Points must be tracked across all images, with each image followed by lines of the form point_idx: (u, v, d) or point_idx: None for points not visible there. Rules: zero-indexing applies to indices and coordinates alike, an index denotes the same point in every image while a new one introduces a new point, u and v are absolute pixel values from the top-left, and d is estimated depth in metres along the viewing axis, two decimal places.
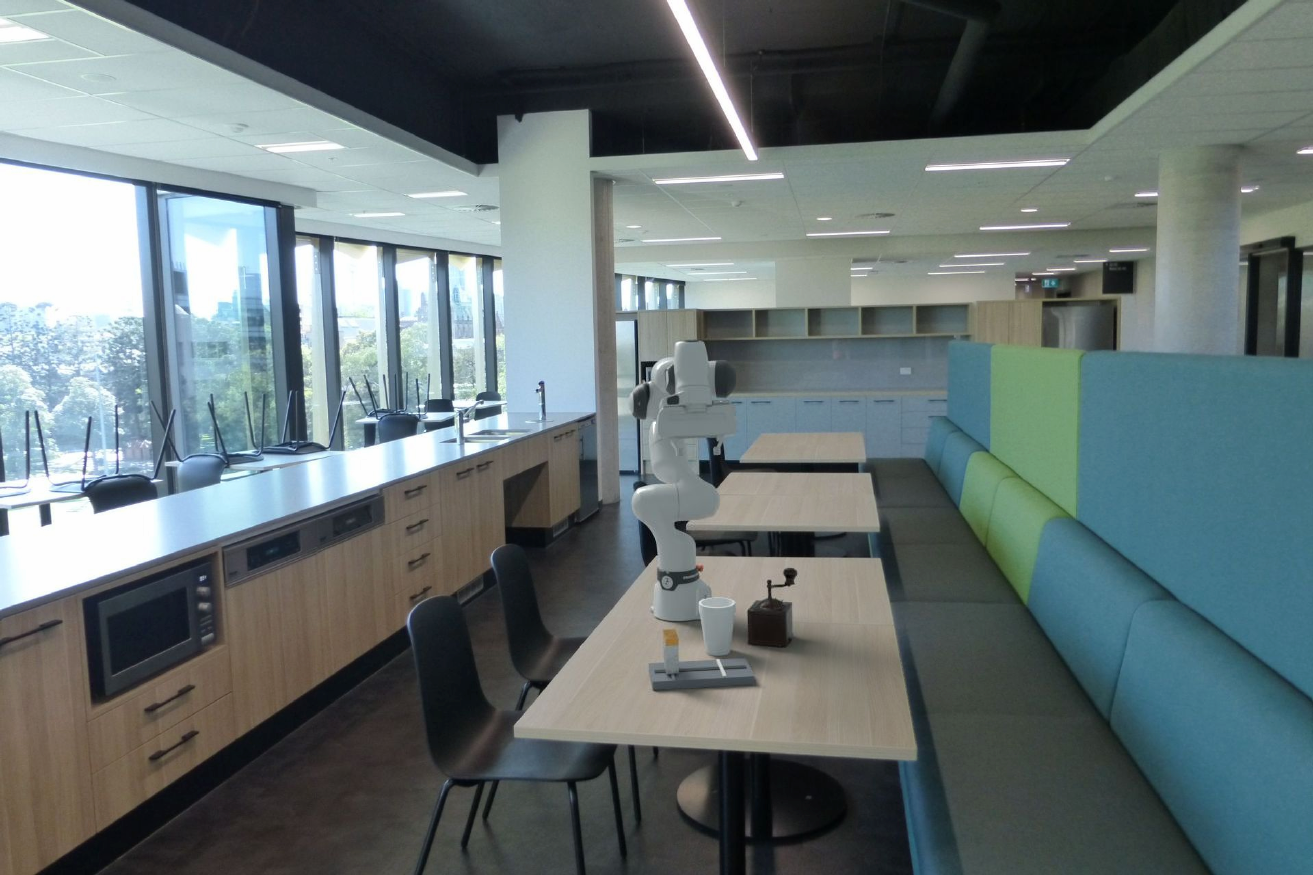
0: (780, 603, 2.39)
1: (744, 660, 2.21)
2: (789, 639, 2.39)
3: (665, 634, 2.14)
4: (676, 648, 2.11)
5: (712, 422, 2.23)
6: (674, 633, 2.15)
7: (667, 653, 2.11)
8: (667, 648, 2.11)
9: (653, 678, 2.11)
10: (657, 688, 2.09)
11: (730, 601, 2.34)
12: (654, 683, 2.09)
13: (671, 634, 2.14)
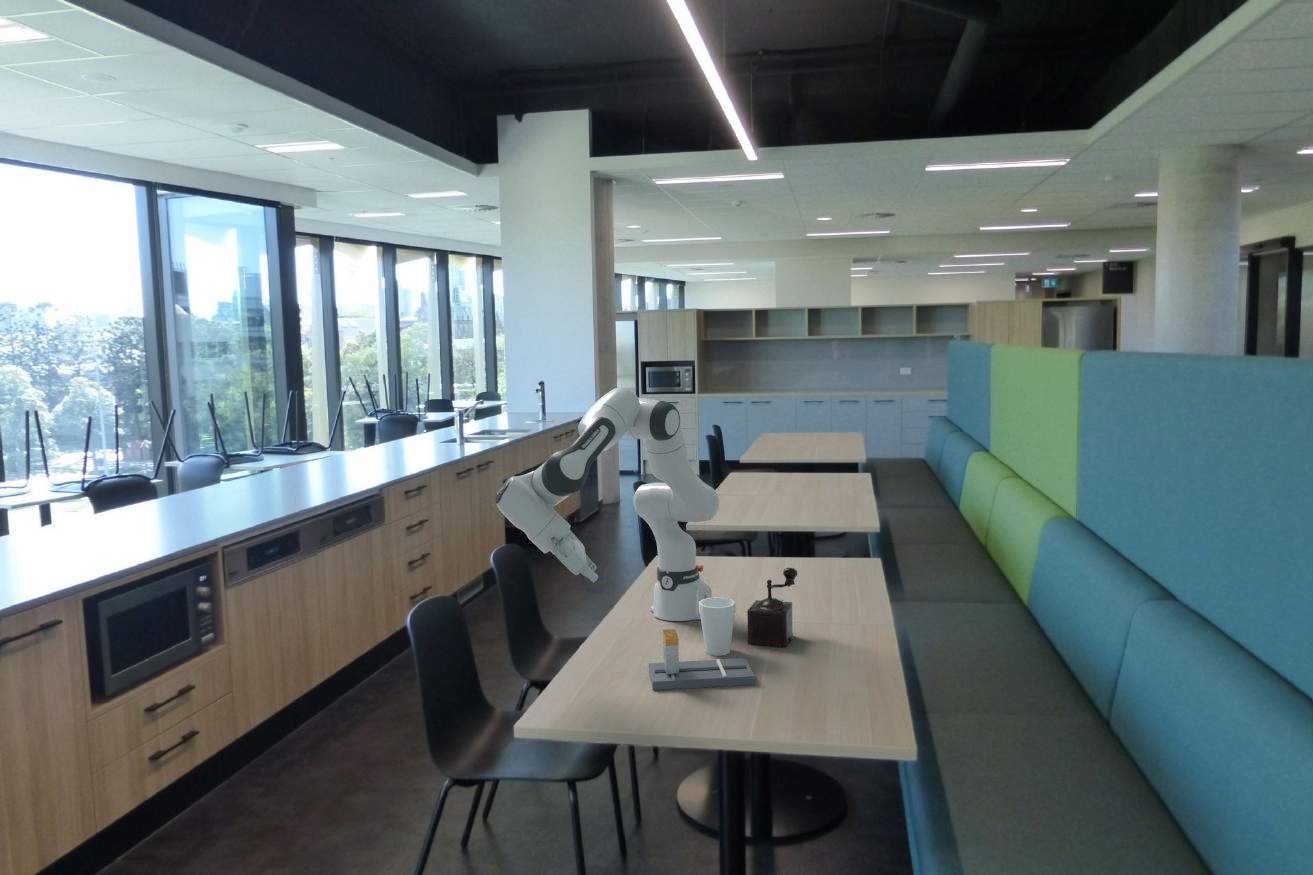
0: (780, 603, 2.39)
1: (744, 660, 2.21)
2: (789, 639, 2.39)
3: (665, 634, 2.14)
4: (676, 648, 2.11)
5: None
6: (674, 633, 2.15)
7: (667, 653, 2.11)
8: (667, 648, 2.11)
9: (653, 678, 2.11)
10: (657, 688, 2.09)
11: (730, 601, 2.34)
12: (654, 683, 2.09)
13: (671, 634, 2.14)
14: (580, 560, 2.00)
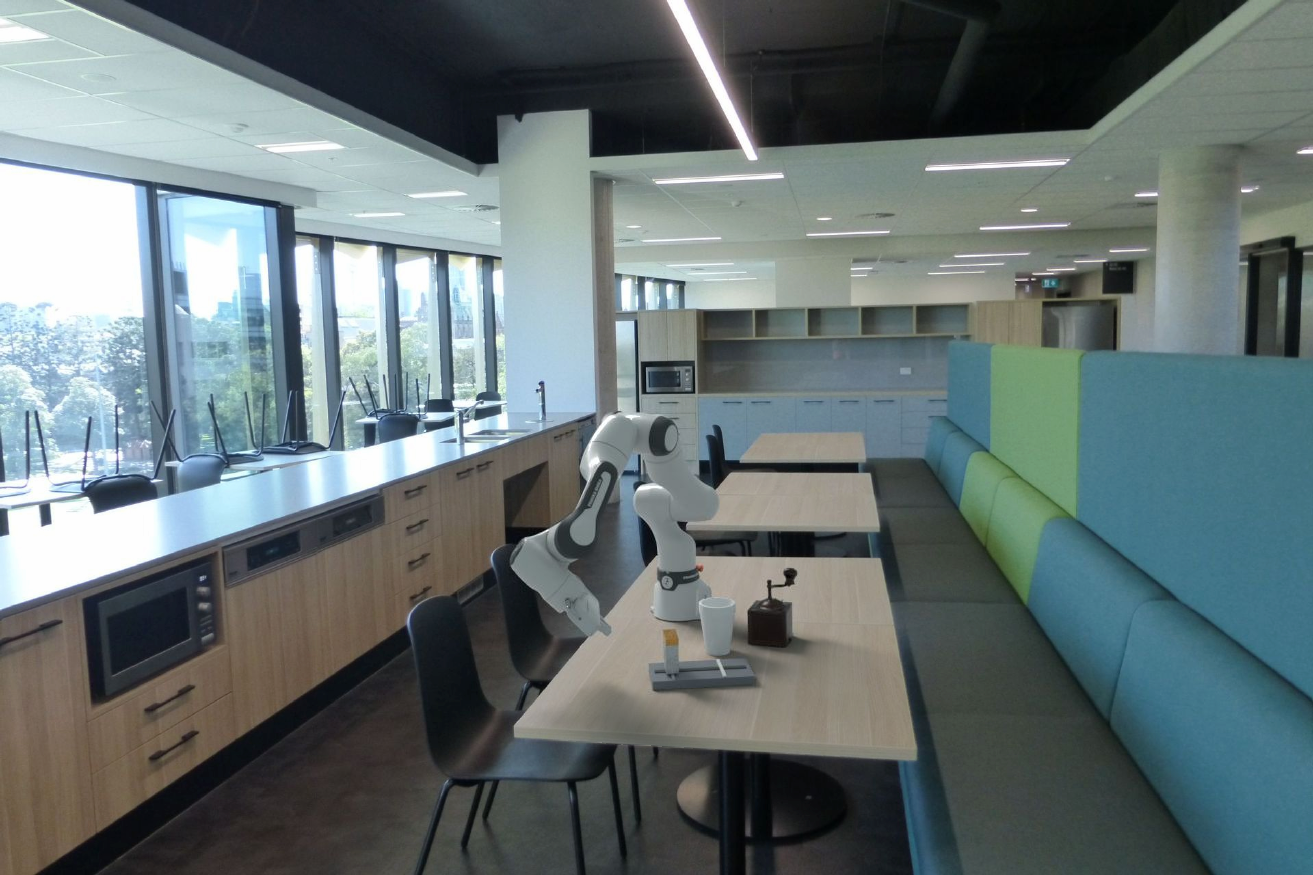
0: (780, 603, 2.39)
1: (744, 660, 2.21)
2: (789, 639, 2.39)
3: (665, 634, 2.14)
4: (676, 648, 2.11)
5: None
6: (674, 633, 2.15)
7: (667, 653, 2.11)
8: (667, 648, 2.11)
9: (653, 678, 2.11)
10: (657, 688, 2.09)
11: (730, 601, 2.34)
12: (654, 683, 2.09)
13: (671, 634, 2.14)
14: (593, 622, 2.02)
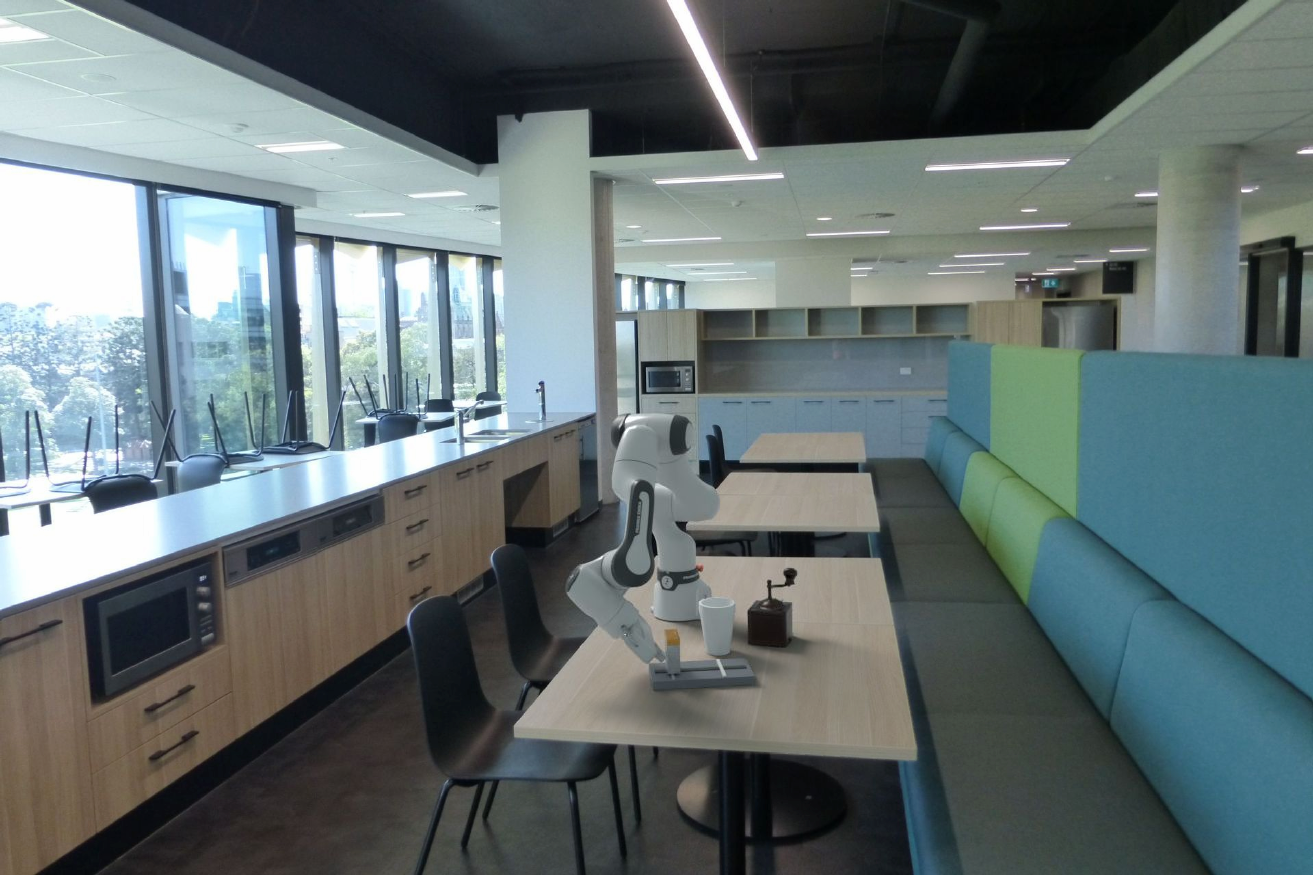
0: (780, 603, 2.39)
1: (744, 660, 2.21)
2: (789, 639, 2.39)
3: (666, 634, 2.14)
4: (678, 648, 2.12)
5: None
6: (676, 633, 2.15)
7: (668, 653, 2.11)
8: (668, 648, 2.11)
9: (653, 678, 2.11)
10: (657, 688, 2.09)
11: (730, 601, 2.34)
12: (654, 683, 2.09)
13: (673, 634, 2.14)
14: (651, 649, 2.04)
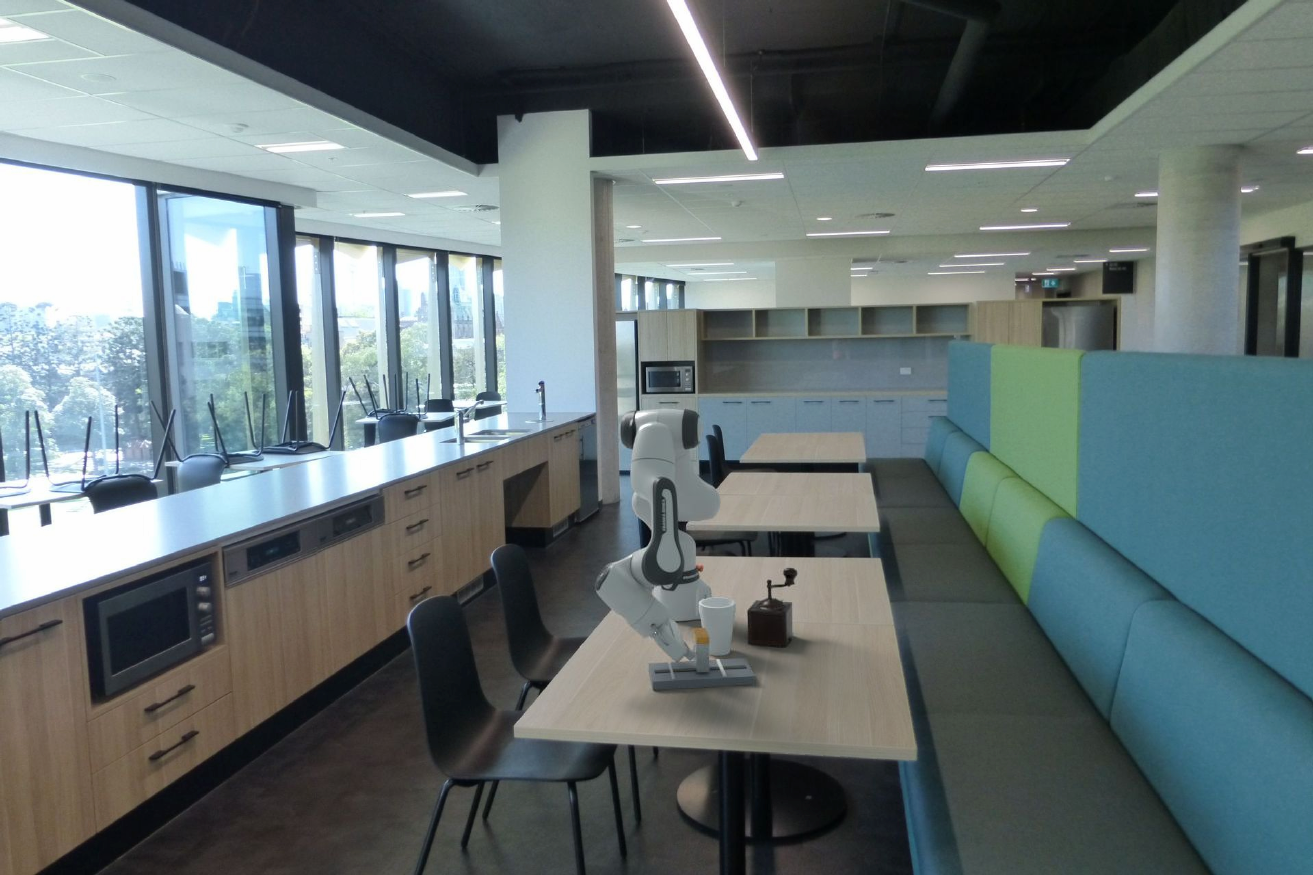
0: (780, 603, 2.39)
1: (744, 660, 2.21)
2: (789, 639, 2.39)
3: (695, 632, 2.15)
4: (707, 646, 2.12)
5: None
6: (705, 631, 2.15)
7: (698, 651, 2.12)
8: (698, 646, 2.12)
9: (653, 678, 2.11)
10: (657, 688, 2.09)
11: (730, 601, 2.34)
12: (654, 683, 2.09)
13: (702, 633, 2.14)
14: (681, 648, 2.04)
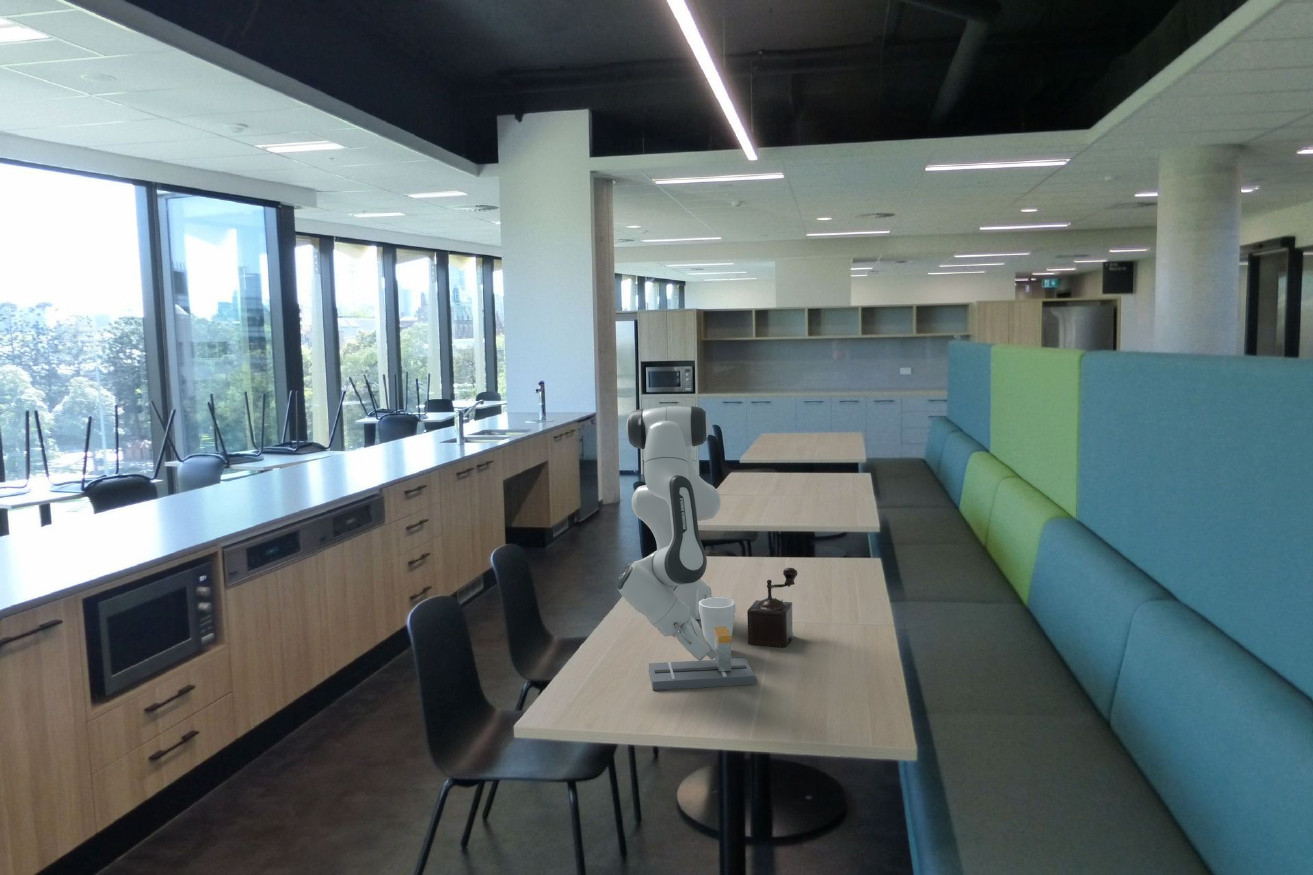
0: (780, 603, 2.39)
1: (744, 660, 2.21)
2: (789, 639, 2.39)
3: (717, 631, 2.15)
4: (729, 645, 2.12)
5: None
6: (726, 630, 2.16)
7: (720, 650, 2.12)
8: (720, 645, 2.12)
9: (653, 678, 2.11)
10: (657, 688, 2.09)
11: (730, 601, 2.34)
12: (654, 683, 2.09)
13: (723, 632, 2.15)
14: (704, 646, 2.05)
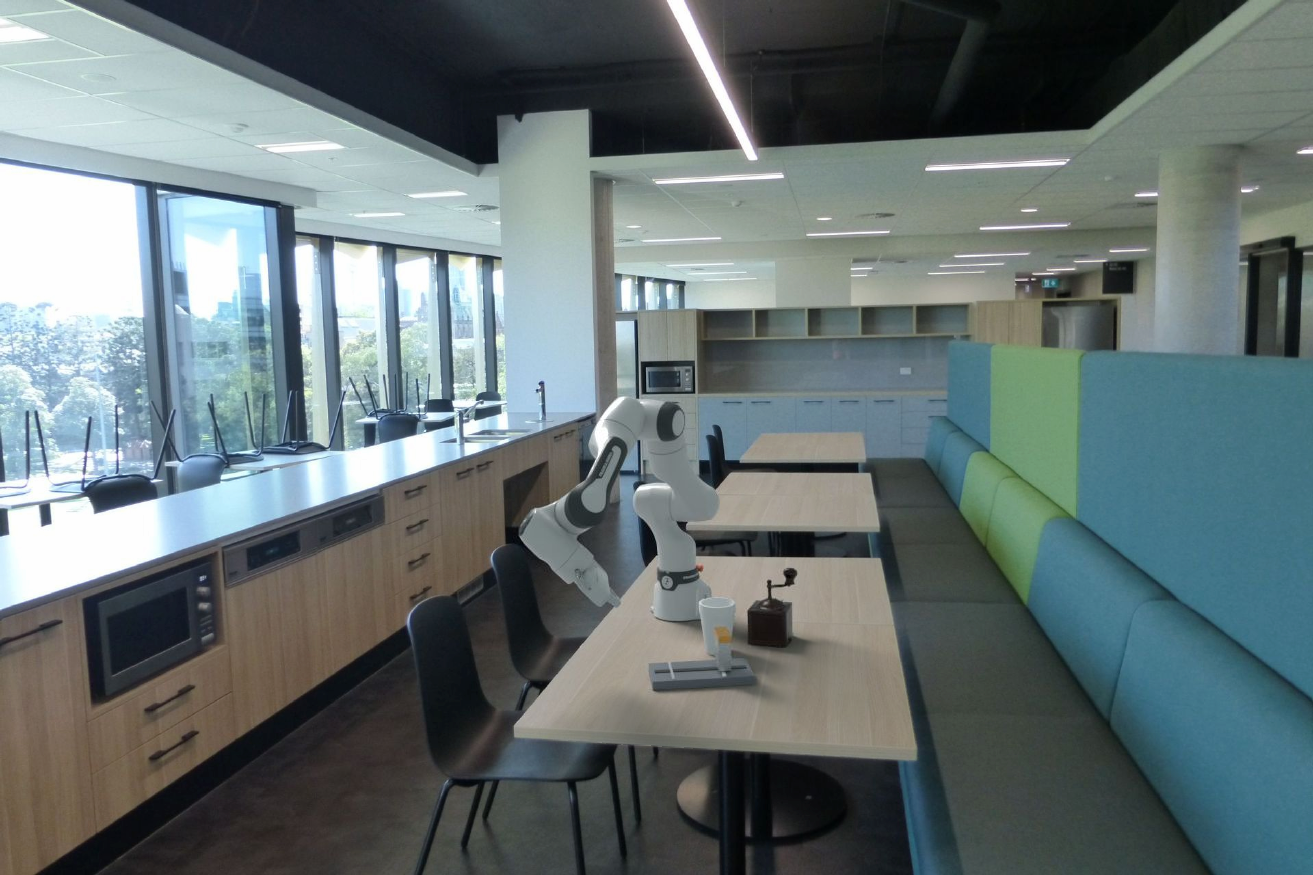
0: (780, 603, 2.39)
1: (744, 660, 2.21)
2: (789, 639, 2.39)
3: (717, 631, 2.15)
4: (729, 645, 2.12)
5: None
6: (726, 630, 2.16)
7: (720, 650, 2.12)
8: (720, 645, 2.12)
9: (653, 678, 2.11)
10: (657, 688, 2.09)
11: (730, 601, 2.34)
12: (654, 683, 2.09)
13: (724, 632, 2.15)
14: (603, 592, 2.01)
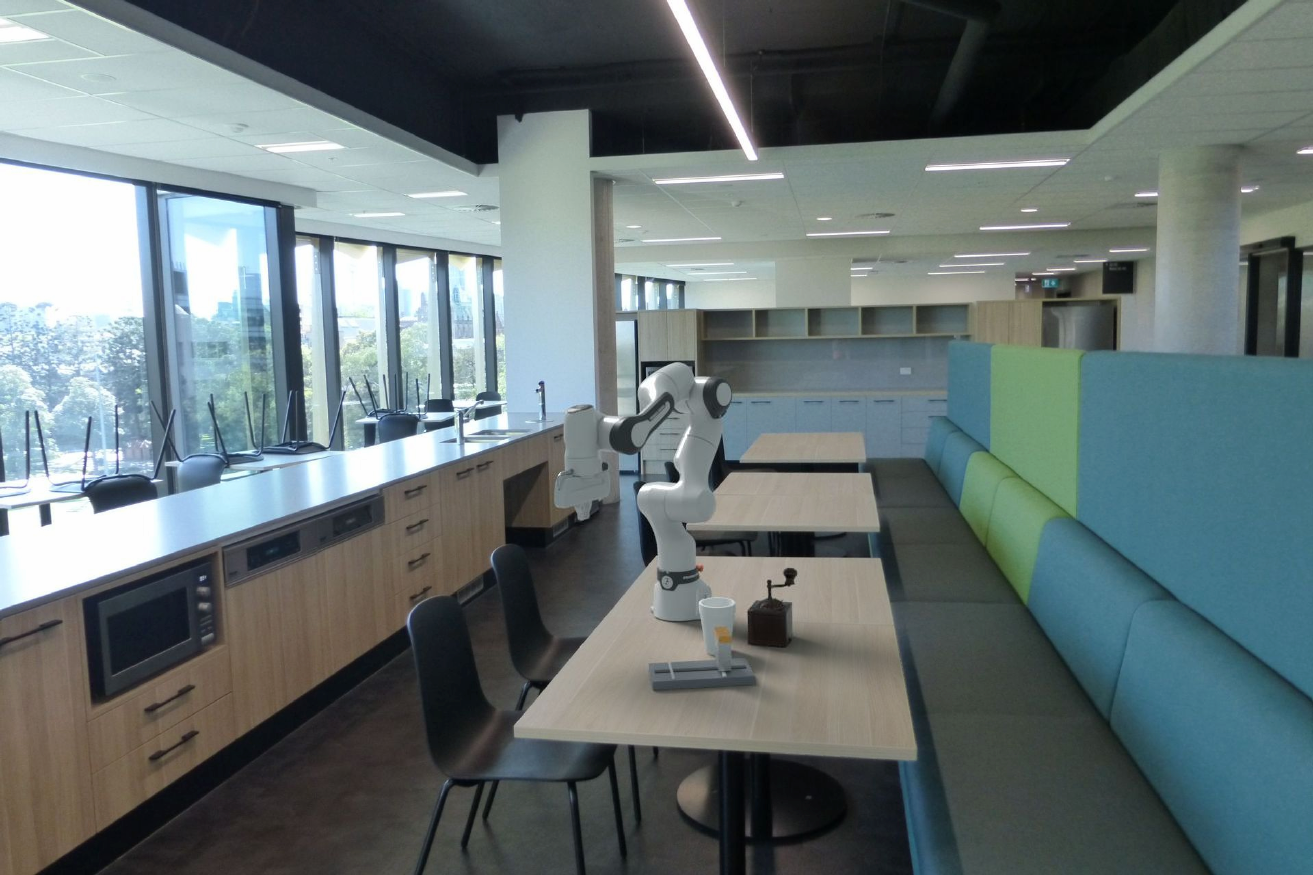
0: (780, 603, 2.39)
1: (744, 660, 2.21)
2: (789, 639, 2.39)
3: (717, 631, 2.15)
4: (729, 645, 2.12)
5: None
6: (726, 630, 2.16)
7: (720, 650, 2.12)
8: (720, 645, 2.12)
9: (653, 678, 2.11)
10: (657, 688, 2.09)
11: (730, 601, 2.34)
12: (654, 683, 2.09)
13: (724, 632, 2.15)
14: (563, 501, 2.27)
